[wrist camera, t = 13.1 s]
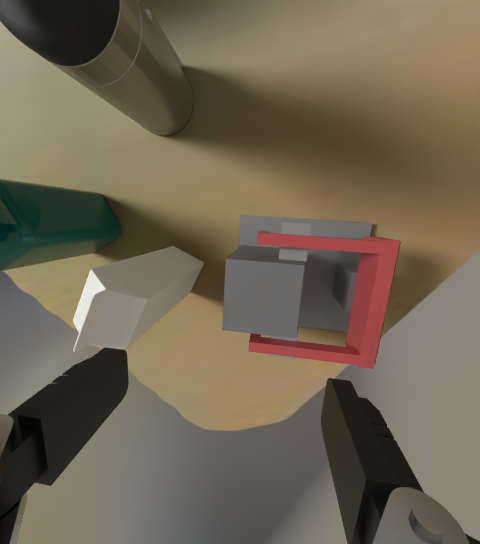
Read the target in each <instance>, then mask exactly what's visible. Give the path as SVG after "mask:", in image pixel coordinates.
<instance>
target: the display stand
mask: <svg viewBox="0 0 480 544" xmlns="http://www.w3.org/2000/svg"><path fill="white" fill-rule="evenodd" d="M371 229H372V223H359V222H343V221H327V220H311V219H294V218H278V217H262V216H246V215H240V229H239V246H238V249H237V250H235V251H234V252H233V253H232V254H231V255H230V256H228V257H227V258H226V265H225V286H224V307H223V328H222V330H228V331H236V332H245V333H253V334H262V335H270V336H271V338H274V339H282V340H290V341H297V334H298V327H307V328H315V329H324V330H333V331H342V332H347V331H348V325H349V319H350V314H351V308H352V302H353V296H354V291H355V285H356V279H357V274H358V268H359V262H360V256H361V252H348V251H335V250H321V249H308V248H295V247H281V246H268V245H257V233H258V232H259V231H270V233H277V234H292V235H306V236H321V237H335V238H350V239H364V236H370V234H371ZM269 356H273V357H281V358H289V359H294V358H295V357H290V356H282V355H274V354H269Z"/></svg>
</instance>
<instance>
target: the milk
mask: <svg viewBox="0 0 480 544" xmlns="http://www.w3.org/2000/svg"><path fill="white" fill-rule="evenodd" d="M203 265H204V262H203V261H201V260H199V259H197V258H195V257H193V256H191V255H189V254H188V253H186V252H184V251H182V250H180V249H178V248H176V247H175V246H171V247H168V248H164V249H161V250H157V251H153V252H150V253H146V254H143V255H139V256H136V257H132V258H128V259H125V260H121V261H118V262H114V263H111V264H107V265H104V266H100V267H96V268H93V269H91V270H90V272H89V275H88V278H87V281H86V284H85V287H84V290H83V293H82V296H81V299H80V302H79V304H78V307H77V310H76V313H75V316H74V319H73V323H74V324H75V326H76V328H77V330H78V332H79V335H78V338H77V341H76V344H75V346H74V349H73V352H76V351H78V350H79V349H81V348H82V347H84V346H85V345H92V346H99V347H108V348H115V349H123V350H126V349H127V348H129V347H130V346H131V345H132V344H133V343H134V342H135V341H136V340H137V339H139V338H140V337H141V336H142V335H143V334H144V333H145V332H146V331H148V330H149V329H150V328H151V327H152V326H153V325H154V324H155V323H156V322H158V321H159V320H160V319H161V318H162V317H163V316H164V315H165V314H167V313H168V312H169V311H170V310H171V309H172V308H173V307H174V306H175V305H177V304H178V303H179V302H180V301H181V300H182V299H183V298H184V297H186V296H187V295H188V294H189V293H190V292H191V290H192V288H193V286H194V284H195V281H196V279H197V277H198V275H199V273H200V271H201V269H202V267H203Z"/></svg>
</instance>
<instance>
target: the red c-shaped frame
mask: <svg viewBox="0 0 480 544" xmlns="http://www.w3.org/2000/svg"><path fill="white" fill-rule="evenodd" d="M400 243H401V242H400V241H399V240H393V239H388V238H382V237H373V236H364V239H350V238H335V237H321V236H306V235H292V234H277V233H270V231H259V232H258V233H257V245H268V246H281V247H295V248H308V249H321V250H335V251H348V252H361V256H360V262H359V268H358V274H357V279H356V285H355V291H354V296H353V302H352V308H351V314H350V319H349V325H348V331H347V336H346V342H345V345H346V346H347V347H341V346H332V345H324V344H315V343H307V342H299V341H290V340H282V339H274V338H265V337H261V334H253V333H251V335H250V340H249V351H250V352H258V353H266V354H274V355H282V356H290V357H297V358H305V359H313V360H321V361H329V362H337V363H345V364H353V365H358V367H363V368H371V369H373V368H374V364H375V362H376V357H377V353H378V348H379V343H380V338H381V334H382V329H383V324H384V322H383V321H384V316H385V312H386V307H387V302H388V297H389V293H390V291H391V286H392V281H393V276H394V272H395V267H396V262H397V257H398V253H399V248H400Z"/></svg>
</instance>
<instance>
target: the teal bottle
mask: <svg viewBox="0 0 480 544" xmlns="http://www.w3.org/2000/svg"><path fill="white" fill-rule="evenodd" d="M120 231H121V228H120V224H119V222H118V221H117V219H116V217H115V216H114V214H113V213H112V211H111V209H110V208H109V206H108V205H107V203H106V201H105V200H104V198H103V197H102V196H101V195H100V194H98V193H95V192H90V191H83V190H76V189H69V188H62V187H55V186H48V185H41V184H34V183H27V182H20V181H13V180H6V179H0V271H4V270H9V269H14V268H19V267H24V266H29V265H34V264H39V263H44V262H50V261H55V260H60V259H65V258H70V257H75V256H80V255H85V254H90V253H95V252H97V251H98V250H100V249H102V248H103V247H105V246H106V245H108V244H109V243H111V242H112V241H114V240H116V239H117V238H118V237H119V235H120Z"/></svg>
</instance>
